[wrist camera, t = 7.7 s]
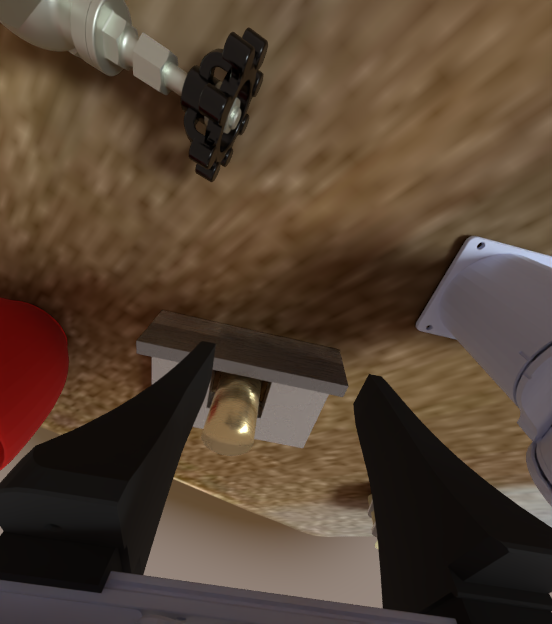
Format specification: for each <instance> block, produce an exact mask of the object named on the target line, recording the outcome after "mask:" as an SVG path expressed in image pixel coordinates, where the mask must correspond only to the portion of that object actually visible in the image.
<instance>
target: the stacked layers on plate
mask: <svg viewBox="0 0 552 624" xmlns="http://www.w3.org/2000/svg"><path fill="white" fill-rule="evenodd" d="M368 502H369V509H368V515H369V517H371V518H372V520H373V528H372V534H373V535H374V536H375V537H377V530H376V522H375V514H374V507H373V500H372V494H371V495H369V496H368ZM375 547H376V548H377V549H378V540H377V542H376V544H375ZM378 550H379V549H378Z"/></svg>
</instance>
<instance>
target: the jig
mask: <svg viewBox="0 0 552 624" xmlns="http://www.w3.org/2000/svg"><path fill="white" fill-rule="evenodd" d="M201 341H205V342H210V343H215V344H216V346H215V354H214V362H213V370H212V377H211V381H210V384H209V387H208V390H207V394H206V397H205V399H204V402H203V404H202V406H201V408H200V411H199V413H198V415H197V418H196V420H195V422H194V425H193V427H197V428H202V429H203V428H204V425H205V422H206V419H207V416H208V413H209V410H210V407H211V404H212V401H213V398H214V395H215V393H214V392H212V387H213V381H214V375H215V370H217V371H222V372H227V373H231V374H236V375H241V376H246V377H250V378H255V379H260V380H264V381H269V383H268V386H267V390H266V393H265V396H264V399H263V402H259V406H258V413H257V421H256V428H255V436H254V439H258V440H264V441H269V442H274V443H279V444H284V445H289V446H294V447H300V448H303V447H304V445H305V443H306V441H307V439H308V437H309V435H310V432H311V430H312V428H313V426H314V424H315V422H316V420H317V418H318V416H319V414H320V412H321V409H322V407H323V405H324V403H325V401H326V399H327V397H328V395H329V394H331V395H336V396H340V397H343V396H344V394H345V392H346V390H347V388H348V382H347V378H346V374H345V370H344V366H343V362H342V358H341V354H340V350H338V349H334V348H329V347H325V346H320V345H316V344H312V343H307V342H303V341H298V340H294V339H289V338H285V337H280V336H276V335H271V334H267V333H263V332H258V331H254V330H249V329H245V328H240V327H236V326H231V325H227V324H222V323H218V322H214V321H209V320H205V319H200V318H196V317H191V316H187V315H182V314H178V313H173V312H169V311H165V310H162V311H161V312H160V313H159V315H158V316H157V317H156V318H155V319H154V320H153V322H152V323H151V324H150V325H149V326H148V328H147V329H146V330H145V331H144V332H143V333H142V335H141V336H140V337H139V338H138V339H137V341H136V346H137V354H141V355H146V356H151V357H152V384H154V383H155V382H156V381H158V380H159V379H160V378H161V377H163V376H164V375H165V374H167V373H168V372H169V371H170V370H171V369H173V368H174V367H175V366H176V365H177V364H178V363H179V362H180V361H182V360H183V359H184V358H185V357H186V356H187V355H188V354H189V353H190V352H191V351H192V350H193V349H194V348H195V347H196V346H197V345H198V344H199V343H200V342H201Z"/></svg>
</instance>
